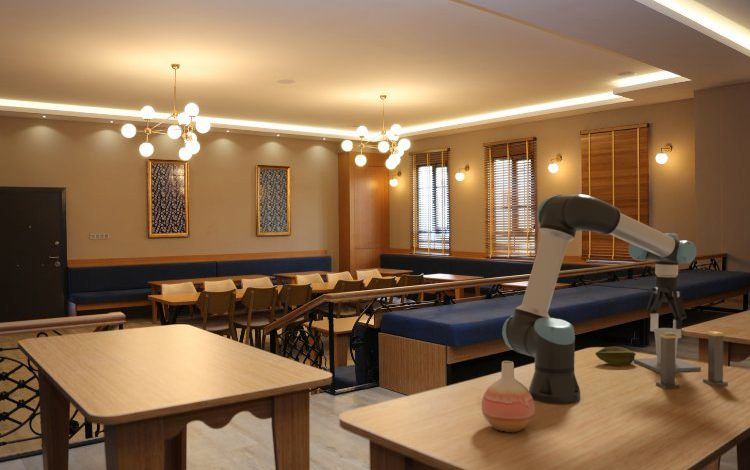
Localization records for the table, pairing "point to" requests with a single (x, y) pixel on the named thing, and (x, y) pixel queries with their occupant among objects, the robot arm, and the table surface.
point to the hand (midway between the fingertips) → (665, 334)
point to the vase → (508, 402)
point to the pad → (655, 366)
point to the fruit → (616, 356)
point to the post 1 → (668, 362)
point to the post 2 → (715, 359)
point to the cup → (658, 341)
